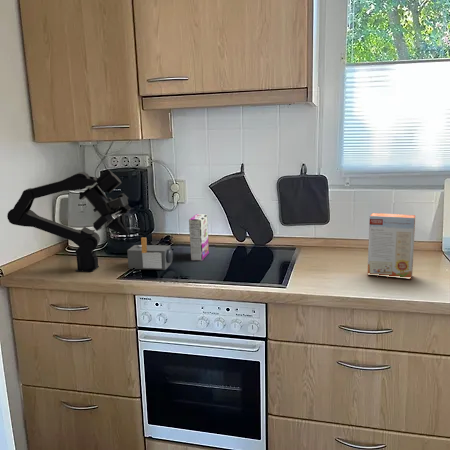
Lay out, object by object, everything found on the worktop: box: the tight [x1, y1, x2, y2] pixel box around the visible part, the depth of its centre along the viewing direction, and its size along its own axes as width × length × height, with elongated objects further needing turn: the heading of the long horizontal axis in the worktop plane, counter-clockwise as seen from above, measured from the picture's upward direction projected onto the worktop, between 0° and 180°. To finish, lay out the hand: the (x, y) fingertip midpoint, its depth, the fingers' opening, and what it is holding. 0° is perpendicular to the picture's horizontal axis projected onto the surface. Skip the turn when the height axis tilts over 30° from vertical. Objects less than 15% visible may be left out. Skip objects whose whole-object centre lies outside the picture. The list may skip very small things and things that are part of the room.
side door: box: [140, 236, 162, 269], centre depth 169 cm, size 7×1×11 cm, turn 81°
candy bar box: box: [188, 213, 210, 262], centre depth 185 cm, size 11×5×16 cm, turn 168°
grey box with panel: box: [126, 244, 174, 271], centre depth 174 cm, size 15×8×8 cm, turn 81°
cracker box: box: [367, 212, 416, 278], centre depth 157 cm, size 14×6×21 cm, turn 65°
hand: (128, 234), depth 169 cm, fingers closed
